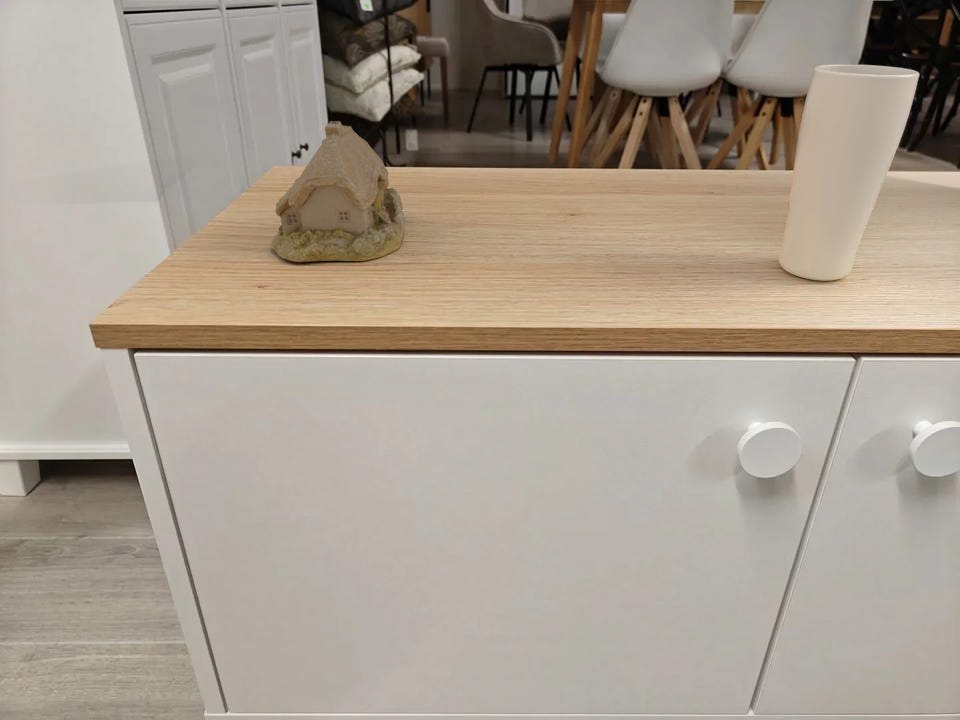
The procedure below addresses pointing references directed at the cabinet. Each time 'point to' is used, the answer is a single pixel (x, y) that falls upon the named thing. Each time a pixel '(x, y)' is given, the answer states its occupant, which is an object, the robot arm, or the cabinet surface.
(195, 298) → the cabinet surface
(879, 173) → the drinking glass
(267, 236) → the cabinet surface
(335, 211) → the ceramic model
